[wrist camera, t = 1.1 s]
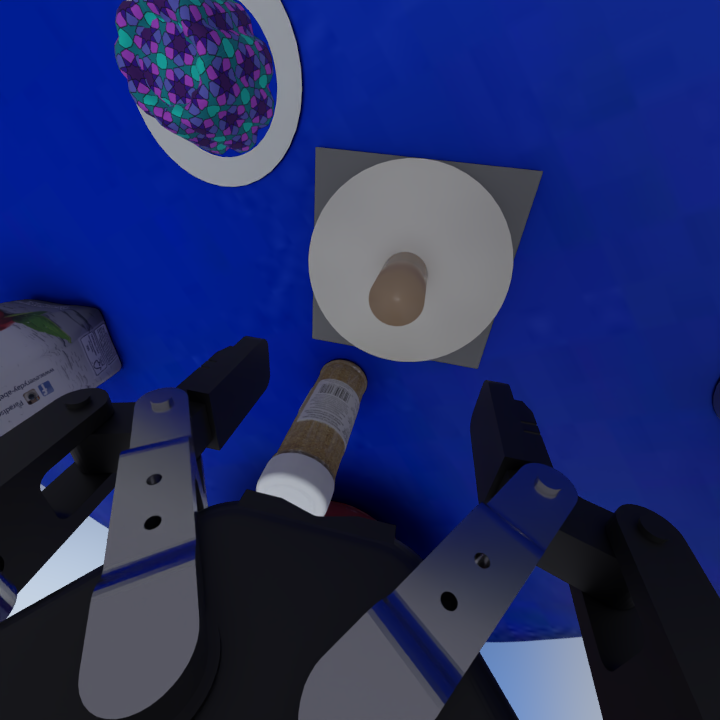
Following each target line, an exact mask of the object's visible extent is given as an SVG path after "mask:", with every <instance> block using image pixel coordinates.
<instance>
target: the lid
mask: <svg viewBox="0 0 720 720" xmlns="http://www.w3.org/2000/svg"><path fill="white" fill-rule="evenodd" d="M512 270H513V246H512V240H511V234H510V231H509V228H508V225H507V222H506V219H505V217H504V215H503V213H502V211H501V209H500V207H499V206H498V204H497V203H496V202H495V200H494V199H493V197H492V196H491V194H490V193H489V192H488V191H487V190H486V189H485V188H484V187H483V186H482V185H481V184H480V183H479V182H477V181H476V180H475V179H473V178H472V177H471V176H469V175H468V174H467V173H465V172H463V171H461V170H459V169H457V168H455V167H454V166H451V165H448V164H445V163H442V162H439V161H434V160H429V159H422V158H404V159H396V160H391V161H387V162H383V163H380V164H377V165H374V166H372V167H370V168H368V169H365V170H363V171H362V172H360V173H359V174H357V175H355V176H354V177H352V178H351V179H350V180H348V181H347V182H346V183H345V184H344V185H342V186H341V187H340V188H339V189H338V190H337V191H336V193H335V194H334V195H333V196H332V197H331V198H330V200H329V201H328V203H327V204H326V206H325V207H324V208H323V210H322V212H321V214H320V216H319V218H318V220H317V222H316V225H315V228H314V231H313V234H312V238H311V243H310V248H309V275H310V281H311V286H312V289H313V292H314V296H315V298H316V300H317V303H318V305H319V307H320V309H321V311H322V312H323V314H324V316H325V317H326V319H327V320H328V321H329V323H330V324H331V325H332V327H333V328H334V329H335V330H336V331H337V332H338V333H339V334H340V335H341V336H342V337H343V338H345V339H346V340H347V341H348V342H350V343H351V344H353V345H354V346H356V347H357V348H359V349H361V350H363V351H365V352H367V353H369V354H372V355H374V356H377V357H380V358H384V359H388V360H393V361H401V362H416V361H426V360H430V359H435V358H439V357H442V356H445V355H448V354H450V353H452V352H454V351H456V350H458V349H460V348H462V347H463V346H465V345H466V344H468V343H470V342H471V341H472V340H473V339H475V338H476V337H477V336H478V335H479V334H480V333H481V332H482V331H483V330H484V329H485V328H486V327H487V326H488V325H489V324H490V323H491V321H492V320H493V319H494V317H495V316H496V314H497V313H498V311H499V309H500V308H501V306H502V304H503V302H504V299H505V297H506V295H507V292H508V289H509V285H510V281H511V278H512Z"/></svg>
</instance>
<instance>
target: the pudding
mask: <svg viewBox="0 0 720 720" xmlns="http://www.w3.org/2000/svg"><path fill="white" fill-rule="evenodd" d="M239 1H240V2H242V3H243V4H244V6H245V7H246V8H247V9H248V10H249V11H250V12H251V13H252V14H253V16H254V17H255V19H256V20H257V22H258V23H259V25H260V26H261V28H262V30H263V32H264V34H265V36H266V39H267V41H268V43H269V46H270V49H271V52H272V55H273V59H274V64H275V69H276V75H277V103H276V108H275V114H274V117H273V120H272V123H271V126H270V128H269V130H268V132H267V134H266V135H265V137H264V138H263V140H262V141H261V142H260V143H259V144H258V146H256V147H255V148H254V149H252V150H251V151H250V152H248V153H246V154H243V155H241V156H237V157H220V156H216V155H212V154H210V153H208V152H206V151H203V150H202V149H200V148H199V147H201V148H203V149H205V150H207V151H209V152H211V153H213V154H223V153H224V152H226V151H227V150H228V149H229V148H231V149H233V150H235V151H237V152H239V153H242V152H245V151H249V150H250V149H251V148H252V147H253V146H254V145H255V144H256V139H257V131H258V129H261V128H263V127H265V126H268V124H269V122H270V120H271V118H272V116H273V108H274V100H273V97H272V95H271V92H270V90H269V87H268V86H269V83H270V81H271V78H272V75H273V66H272V58H271V55H270V53H269V51H268V48H267V46H266V44H265V43H264V42H263V41H261V40H260V39H258V38H257V37H255V36H254V35H253V31H252V25H251V20H250V17H249V15H248V14H247V13H246V11H245V10H244V9H243V7H242V6H241V5H240V4H238V3H236V2H235V1H233V0H127V1H123V2H122V3H121V5H120V6H119V8H118V9H117V13H116V20H115V23H116V27H117V31H118V35H119V37H118V39H117V41H116V43H115V45H114V47H115V58H116V61H117V64H118V67H119V70H120V71H121V72H122V73H123V74H124V76H125V77H126V78H127V79H128V86H129V92H130V94H131V96H132V97H133V99H134V101H135V102H136V104H137V106H138V109H139V111H140V113H141V115H142V117H143V119H144V121H145V123H146V125H147V127H148V129H149V130H150V132H151V133H152V135H153V136H154V138H155V139H156V141H157V142H158V144H159V145H160V146H161V147H162V148H163V149H164V151H165V152H166V153H167V154H168V155H169V156H170V157H171V158H172V159H173V160H174V161H175V162H176V163H177V164H178V165H179V166H180V167H182V168H183V169H184V170H186V171H187V172H189V173H190V174H192V175H193V176H195V177H197V178H199V179H201V180H203V181H206V182H208V183H211V184H215V185H219V186H230V187H236V186H242V185H248V184H250V183H252V182H255V181H257V180H259V179H261V178H262V177H264V176H265V175H267V174H268V173H269V172H271V171H272V170H273V169H274V167H275V166H276V165H277V164H278V163H279V162H280V161H281V160H282V158H283V156H284V155H285V153H286V151H287V150H288V148H289V146H290V144H291V141H292V139H293V136H294V134H295V131H296V128H297V123H298V119H299V114H300V109H301V96H302V79H301V65H300V59H299V53H298V48H297V43H296V40H295V36H294V33H293V30H292V27H291V24H290V20H289V18H288V16H287V14H286V12H285V9H284V7H283V5H282V3H281V1H280V0H239ZM196 145H197V146H199V147H197V146H196Z"/></svg>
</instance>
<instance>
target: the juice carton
mask: <svg viewBox="0 0 720 720" xmlns="http://www.w3.org/2000/svg"><path fill="white" fill-rule="evenodd" d="M120 369H121V362H120V360H119V357H118V355H117V352H116V350H115V348H114V346H113V343H112V341H111V338H110V336H109V333H108V330H107V327H106V325H105V322H104V319H103V317H102V314H101V313H100V311H99V310H98V309H96V308H92V307H86V306H76V305H63V304H57V303H51V302H46V301H40V300H32V299H24V300H17V301H11V302H5V303H0V437H1V436H2V435H4V434H5V433H7V432H8V431H10V430H11V429H13V428H14V427H16V426H17V425H19V424H20V423H22V422H23V421H25V420H26V419H28V418H29V417H31V416H32V415H34V414H35V413H36V412H38V411H39V410H41V409H42V408H44V407H45V406H47V405H48V404H50V403H51V402H53V401H54V400H56V399H57V398H59V397H61V396H63V395H65V394H67V393H70V392H73V391H76V390H80V389H86V388H96V387H97V386H99V385H100V384H102V383H103V382H104V381H106V380H107V379H109V378H110V377H111V376H113V375H114V374H115V373H117V372H118V371H119V370H120Z"/></svg>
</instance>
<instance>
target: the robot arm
mask: <svg viewBox="0 0 720 720" xmlns="http://www.w3.org/2000/svg"><path fill="white" fill-rule="evenodd" d="M269 379H270V367H269V352H268V343H267V341H266V340H265V339H260V338H255V337H249V336H245V337H243V338H242V339H241V340H240V341H239V342H238V343H237V344H236V345H235V346H233V347H232V346H229V347H227V348H225V349H223V350H220V351H218V352H217V353H215V354H214V355H213V356H212V357H211V358H210V359H209V360H208V361H206V362H205V363H204V364H203V365H202V366H201V367H199V368H198V369H197V370H196V371H195V372H193V373H192V374H191V375H190V376H189V377H188V378H186V379H185V380H184V381H183V382H182V383H181V384H180V385H178V386H177V387H176V388H172V387H169V388H161V389H157V390H153V391H151V392H148V393H147V394H145V395H143V396H142V397H141V398H139V399H138V400H137V402H128V403H111V400H110V398H109V395H108V393H107V392H106V391H105V390H102V389H99V388H86V389H80V390H76V391H73V392H70V393H67V394H65V395H63V396H61V397H59V398H57V399H56V400H54V401H53V402H51V403H50V404H48V405H47V406H45V407H44V408H42V409H41V410H39V411H38V412H36V413H35V414H34V415H32V416H31V417H29V418H28V419H26V420H25V421H23V422H22V423H20V424H19V425H17V426H16V427H14V428H13V429H11V430H10V431H8V432H7V433H5V434H4V435H2V436H1V437H0V720H519V719H518V717H517V716H516V714H515V712H514V710H513V709H512V707H511V705H510V704H509V702H508V700H507V699H506V697H505V695H504V693H503V692H502V690H501V688H500V687H499V685H498V683H497V681H496V679H495V678H494V676H493V674H492V673H491V671H490V669H489V668H488V666H487V664H486V662H485V661H484V659H483V657H482V655H481V654H480V652H479V651H480V649H481V648H482V647H483V645H484V644H485V642H486V641H487V639H488V637H489V636H490V634H491V633H492V631H493V630H494V628H495V627H496V625H497V624H498V622H499V621H500V619H501V618H502V616H503V615H504V613H505V612H506V610H507V609H508V607H509V606H510V604H511V603H512V601H513V600H514V598H515V596H516V595H517V593H518V592H519V590H520V589H521V587H522V586H523V584H524V583H525V581H526V580H527V578H528V577H529V575H530V574H531V572H532V571H533V569H534V568H535V566H538V567H540V568H541V569H543V570H545V571H547V572H549V573H550V574H552V575H554V576H556V577H558V578H560V579H561V580H563V581H565V582H567V583H569V586H570V590H571V594H572V598H573V602H574V606H575V610H576V614H577V618H578V622H579V626H580V630H581V634H582V638H583V641H584V646H585V650H586V653H587V658H588V662H589V665H590V669H591V673H592V677H593V681H594V685H595V689H596V693H597V697H598V701H599V705H600V709H601V713H602V717H603V720H720V598H719V596H718V595H717V593H716V591H715V590H714V588H713V586H712V585H711V583H710V581H709V579H708V578H707V576H706V574H705V573H704V571H703V569H702V568H701V566H700V564H699V563H698V561H697V559H696V557H695V556H694V554H693V552H692V551H691V549H690V547H689V546H688V544H687V542H686V541H685V539H684V538H683V536H682V535H681V534H680V532H679V531H678V530H677V529H676V528H675V527H674V526H673V525H672V524H671V523H669V522H668V521H667V520H666V519H664V518H663V517H661V516H660V515H658V514H657V513H655V512H653V511H651V510H649V509H647V508H644V507H641V506H638V505H633V504H626V505H622V506H620V507H619V508H618V509H617V510H616V511H615V513H613V512H610V511H608V510H606V509H604V508H602V507H599V506H597V505H595V504H593V503H591V502H588V501H586V500H584V499H582V498H581V497H579V496H578V494H577V491H576V489H575V487H574V485H573V484H572V483H571V481H570V480H569V479H568V478H567V477H566V476H565V475H563V474H562V473H561V472H559V471H558V470H556V469H554V468H553V466H552V463H551V461H550V458H549V455H548V453H547V450H546V447H545V445H544V442H543V439H542V437H541V435H540V431H539V429H538V426H536V424H537V423H536V421H535V418H534V415H533V413H532V411H531V410H530V409H529V408H528V407H527V406H526V405H525V404H524V403H523V401H518V400H514V398H513V395H512V392H511V389H510V386H509V384H505V383H500V382H494V381H489V380H485V382H484V383H483V386H482V388H481V391H480V394H479V397H478V400H477V403H476V405H475V408H474V411H473V414H472V418H471V424H470V433H471V442H472V450H473V459H474V467H475V476H476V484H477V492H478V501H479V504H478V505H477V506H476V507H475V508H474V509H473V510H472V511H471V512H470V513H469V514H468V515H467V516H466V517H465V518H464V519H463V521H462V522H461V523H460V524H459V525H458V526H457V527H456V528H455V529H454V530H453V531H452V532H451V533H450V534H449V535H448V536H447V537H446V538H445V539H444V540H443V541H442V542H441V543H440V544H439V545H438V546H437V547H436V548H435V549H434V550H433V551H432V552H431V553H430V554H429V555H428V556H427V557H426V558H425V559H424V560H422V559H421V557H420V556H419V555H418V554H416V553H415V552H414V551H413V550H412V549H411V548H409V547H408V546H407V545H405V544H404V543H402V542H401V541H399V540H397V539H395V531H396V525H392V524H388V523H384V522H380V521H375V520H371V519H367V518H363V517H359V516H315V515H312V514H311V513H309V512H307V511H305V510H303V509H301V508H300V507H298V506H296V505H294V504H292V503H290V502H289V501H287V500H285V499H283V498H280V497H276V496H272V495H268V494H264V493H260V492H256V491H252V490H247V489H246V491H245V493H244V494H243V496H242V498H241V500H240V501H232V502H225V503H220V504H216V505H213V506H210V507H208V504H207V495H206V486H205V477H204V468H203V459H202V455H201V453H202V452H203V451H204V450H205V448H206V447H207V448H211V449H215V450H220V449H221V448H222V447H223V445H224V444H225V443H226V441H227V440H228V439H229V437H230V436H231V435H232V433H233V432H234V431H235V430H236V428H237V427H238V426H239V424H240V423H241V422H242V420H243V419H244V418H245V416H246V415H247V414H248V412H249V411H250V410H251V408H252V407H253V406H254V404H255V403H256V402H257V400H258V399H259V398H260V396H261V395H262V394H263V392H264V391H265V390H266V388H267V386H268V383H269ZM713 407H714V409H715V412H716V415H717V416H718V417H719V419H720V381H719V383H718V385H717V387H716V390H715V393H714V396H713ZM69 452H70V453H71V455H72V457H73V459H74V461H75V462H74V463H73V464H72V465H71V466H70V467H68V468H67V469H66V470H65V471H64V472H63V473H62V474H61V475H60V476H58V477H57V478H56V479H55V480H54V481H53V482H52V483H51V484H49V485H48V486H47V487H46V488H45V489H44V490H43V491H42V492H41V490H40V483H41V480H42V478H43V476H44V475H45V474H46V472H47V471H48V470H50V469H51V468H52V467H53V466H54V465H55V464H57V463H58V462H59V461H60V460H61V459H62V458H64V457H65V456H66V455H67V454H68V453H69ZM114 487H115V490H114V497H113V504H112V511H111V518H110V525H109V532H108V539H107V546H106V553H105V560H104V564H103V565H102V566H100V567H98V568H96V569H95V570H93V571H91V572H89V573H87V574H86V575H84V576H82V577H80V578H78V579H77V580H75V581H73V582H71V583H70V584H68V585H66V586H64V587H62V588H61V589H59V590H57V591H55V592H54V593H52V594H50V595H48V596H46V597H45V598H43V599H41V600H39V601H38V602H36V603H34V604H32V605H30V606H29V607H27V608H25V609H23V610H21V611H20V612H18V613H16V614H14V615H13V616H11V617H9V618H7V617H8V616H9V614H10V612H11V611H12V609H13V607H14V605H15V602H16V599H17V594H18V593H19V591H20V590H21V589H22V588H23V587H24V586H25V585H26V584H27V583H28V582H29V581H30V579H31V578H32V577H33V576H34V575H35V574H36V573H37V572H38V571H39V570H40V568H41V567H42V566H43V565H44V564H45V563H46V562H47V561H48V559H50V557H51V556H52V555H53V554H54V553H55V552H56V551H57V550H58V549H59V548H60V546H61V545H62V544H63V543H64V542H65V541H66V540H67V539H68V538H69V537H70V535H71V534H72V533H73V532H74V531H75V530H76V529H77V528H78V527H79V526H80V525H81V524H82V522H83V521H84V520H85V519H86V518H87V517H88V516H89V515H90V514H91V513H92V511H93V510H94V509H95V508H96V507H97V506H98V505H99V504H100V503H101V502H102V501H103V499H104V498H105V497H106V496H107V495H108V494H109V493H110V492H111V491H112V490H113V488H114ZM6 618H7V619H6Z"/></svg>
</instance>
